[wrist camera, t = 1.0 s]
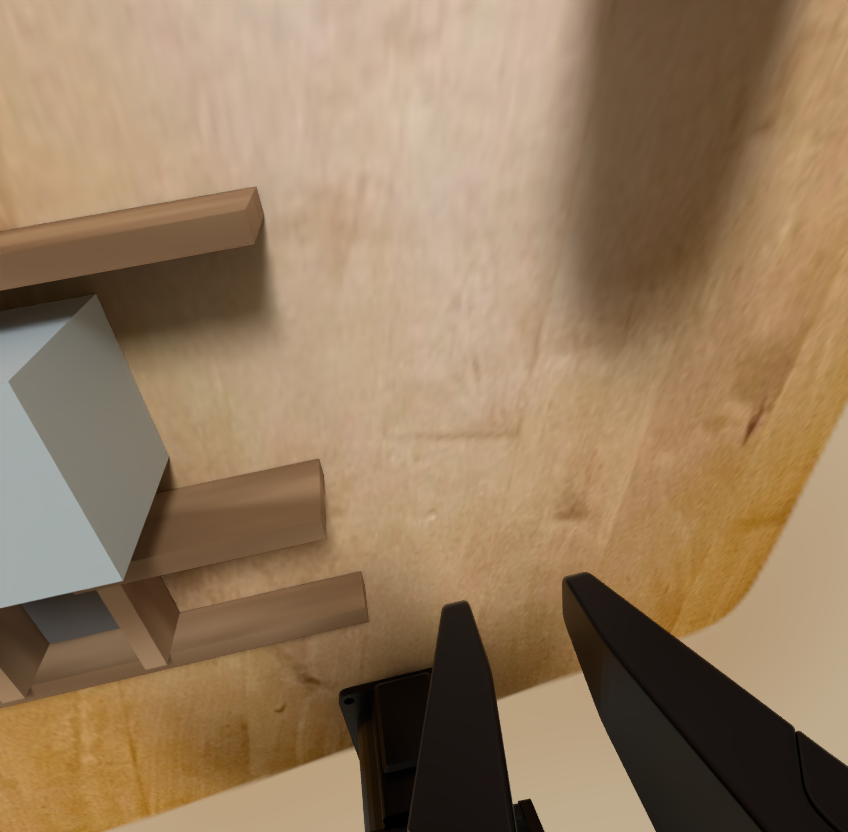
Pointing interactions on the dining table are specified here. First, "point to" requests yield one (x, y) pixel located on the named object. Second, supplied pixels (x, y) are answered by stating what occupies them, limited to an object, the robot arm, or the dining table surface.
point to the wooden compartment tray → (168, 498)
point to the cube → (70, 452)
